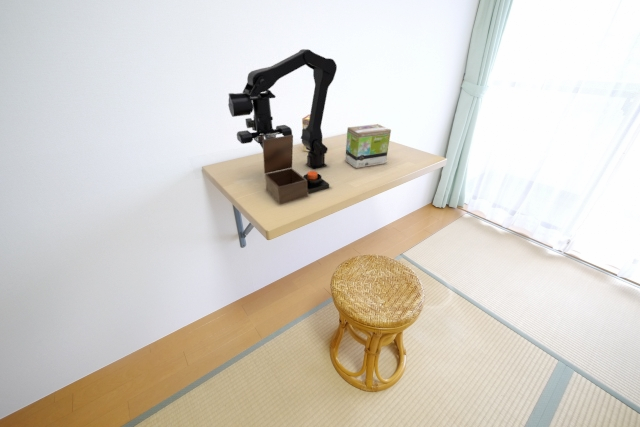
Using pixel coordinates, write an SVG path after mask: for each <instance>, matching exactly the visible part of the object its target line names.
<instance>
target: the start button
mask: <svg viewBox="0 0 640 427" xmlns="http://www.w3.org/2000/svg"><path fill="white" fill-rule="evenodd" d="M306 174H307V178H308V179H317V178H318V177H317V174H318V171H316V170H315V171H314V170H311V171H307V173H306Z"/></svg>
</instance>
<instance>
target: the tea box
mask: <svg viewBox="0 0 640 427" xmlns="http://www.w3.org/2000/svg"><path fill="white" fill-rule="evenodd" d="M391 132H392V130H391V129H390V128H388V127H385V126H383V125H381V124H378V123H377V124H367V125H357V126H348V127H347V132H346V143H345V144H346V145H345V154H344V155H345V157H344V161H345V162H346V163H348V164H349V165H350V166H352V167H353V168H354V169H359V168H364V167H371V166H378V165H385V164H386V163H387V157H388V151H389V146H390V138H391V134H392V133H391Z"/></svg>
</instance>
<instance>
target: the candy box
mask: <svg viewBox="0 0 640 427" xmlns="http://www.w3.org/2000/svg"><path fill="white" fill-rule="evenodd" d="M309 119H310V114H307V115H305V116H304V117H303V118H301V124H302V129H303V128H304V129H306V128H307V126H308V125H309ZM308 151H309V150H307V149H306V147H305V146H304V145H303V152H308Z"/></svg>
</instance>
